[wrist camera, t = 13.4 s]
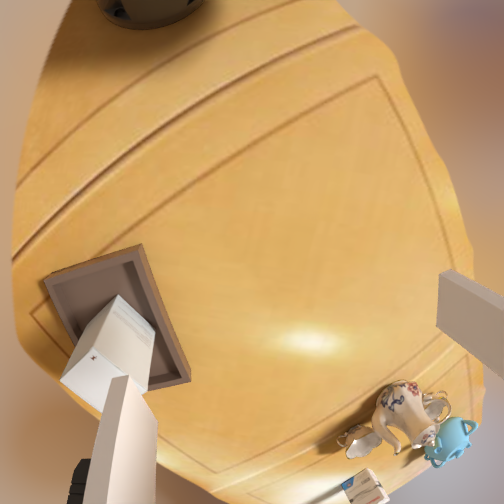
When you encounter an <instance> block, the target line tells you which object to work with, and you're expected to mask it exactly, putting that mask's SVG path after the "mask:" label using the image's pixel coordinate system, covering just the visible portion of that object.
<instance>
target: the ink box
mask: <svg viewBox="0 0 504 504" xmlns="http://www.w3.org/2000/svg"><path fill="white" fill-rule="evenodd" d="M342 487H343V489H344V491H345V493H346V495H347V497H348V499H349V501H350V503H351V504H384V503H386V502H388V501H389V500H390V499H389V498H388V496H387V494H386V492H385V491H384V489H383V487H382V486H381V484H380V482H379V481H378V479H377V477H376V476H375V474H374V472H373V471H372V470H370V469H368V468H366V469H364V470H363V471H361V472H360V473H358V474H357V475H355V476H354V477H352V478H351V479H349V480H348V481H346V482H344V483H343V484H342Z"/></svg>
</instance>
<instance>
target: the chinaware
mask: <svg viewBox="0 0 504 504" xmlns="http://www.w3.org/2000/svg"><path fill="white" fill-rule="evenodd" d="M440 392H443V393H445V394H446V398H444V397H442V396H438V395H437V394H438V393H440ZM437 394H432V393H431V394H428V395H426V394H423V395H422V392H421V390H420V389H419V388H418V385H417V383H416V382H413V381H411V382H407V381H406V380H398V381H395V382H393V383H391V384H390V385H388V386H387V387H386V388H385V389H384V390H383V391H382V392H381V393H380V394H379V396H378V398H377V400H376V404H375V405H376V410H375V412H374V414H373V416H372V428H373V429H372V428H370V427H365V426H362V427H361V426H359V424H358V425H357V426H354V427H353V428H350V430H349V432H345V433H344V435H345V436H338V437H337V439H336V441H337V443H338V445H340V446H341V447H346V457H347V458H348V459H353V458H355V457H364V456H366V455H368V454H369V453H370V452H371V451H372V448H375V447H378V446H379V445H380V444H381V442H382V439H383V440H385V441H386V442H388V443H389V444H391V445H392V446H393V447H394V449H395V451H394V456H396V455H398V454H399V452H400V450H401V444H400V442H399V440H398V439H397V438H396V437H395V436H394V435H393V434H392V433H391V432H390V430H389V429H388V428H387V427H386V425H388V426H393V427H396V428H398V429H400V430H401V431H403V432H404V433H405V434H406V435H407V437H408V438H409V440H410V442H411V444H412V448H414V449H416V448H420V447H421V446H427V445H428V446H431V447H433V446H434V445H435V440H434V439H435V437H436V434H437V433H438V431H439V429H440V424H442V423H443V422H444V421H446V420H447V419H448V418H449V416H450V414H451V405H450V403H449V402H448V401H447V393H446V392H445V391H439V392H437ZM446 405H447V407H448V409H449V412H448V414H447V416H446V417H445V418H444V419H443V420H441V421H440V422H439V416H440V414H441V413H442V410H443V407H444V406H446ZM434 419H435V420H434ZM432 420H434V421H432ZM348 434H349V435H348ZM339 437H347V438H346V443H345V445H342V444H341V443H340V442H339V441H338V438H339Z"/></svg>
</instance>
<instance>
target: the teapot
mask: <svg viewBox="0 0 504 504" xmlns="http://www.w3.org/2000/svg"><path fill="white" fill-rule="evenodd" d="M466 424H468V425H470V426H471V427H472V429H471V430H470V431H469V432H468V428H467V425H466ZM477 428H478V423H476V422H475V421H471V420H463V419H462V418H460V417H452V418H449V419H447V420H446V421H444V422H443V423H442V424H440V429H439V431H438V433H437V434H436V437H435V439H434V440H435V445H434V446H433V447H431V446H428V445H427V446H425V448H424V450H425V453H426V454H425V456H424V458H425V460H431V463H432V465H433V467H435V468H440V467H442V466H443V465H444V464H445V462H447V461H450V460H452V459H454V458H455V457H456V458H459V457H460V456H461V455H462V454H463V453H464V451H463V450H464V449H465V447H466V448H469V447H470V446H471V445H472V444H471V443H470V442H469V435H470V434H472V433H473V432H474V431H475V430H476V429H477ZM428 456H429V458H427V457H428ZM434 459H436V460H440V461H443V462H442V463H441V464H440V465H436V463H435V461H434Z"/></svg>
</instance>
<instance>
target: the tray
mask: <svg viewBox="0 0 504 504" xmlns="http://www.w3.org/2000/svg"><path fill="white" fill-rule="evenodd" d="M44 283H45V285H46V287H47V290H48V292H49V294H50V297H51V299H52V301H53V303H54V306H55V308H56V310H57V312H58V314H59V316H60V318H61V320H62V322H63V324H64V326H65V328H66V330H67V332H68V334H69V336H70V338H71V340H72V342H73V344H74V346H75V347H76V345H77V343H78V341H79V339H80V337H81V336H82V334H83V332H84V330H85V328H86V326H87V324H88V323H89V322H90V321H91V320H92V319H93V318H94V317H95V316H96V315H97V314H98V313H99V312H100V311H101V310H102V309H103V308H104V307H105V306H106V305H107V304H108V303H109V302H110V301H111V300H112V299H114V298H115V297H116V296H117V295H120V296H121V297H122V298H123V299H124V300H125V301H126V302H127V303H128V304H129V305H130V306H131V307H132V308H133V309H134V310H135V311H136V312H137V313H139V314H140V315H141V316H142V317H143V318H144V319H145V320H146V321H147V322H148V323H149V324H151V325H152V326H153V327H154V328H155V329H156V332H155V338H154V345H153V352H152V358H151V365H150V372H149V380H148V391H151V390H156V389H161V388H165V387H170V386H175V385H179V384H183V383H188V382H191V368H190V366H189V364H188V362H187V359H186V357H185V355H184V352H183V350H182V348H181V345H180V343H179V341H178V338H177V336H176V334H175V331H174V329H173V326H172V324H171V321H170V319H169V316H168V314H167V311H166V309H165V306H164V304H163V301H162V298H161V296H160V293H159V291H158V288H157V285H156V282H155V280H154V277H153V274H152V271H151V269H150V266H149V263H148V260H147V257H146V254H145V251H144V248H143V245H142V244H139V245H135V246H132V247H129V248H126V249H122V250H119V251H116V252H113V253H110V254H107V255H103V256H100V257H97V258H94V259H91V260H88V261H85V262H82V263H79V264H76V265H73V266H70V267H67V268H64V269H61V270H58V271H55V272H52V273H51V274H50V275H49V276H48V277H47V278H45V279H44Z"/></svg>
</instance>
